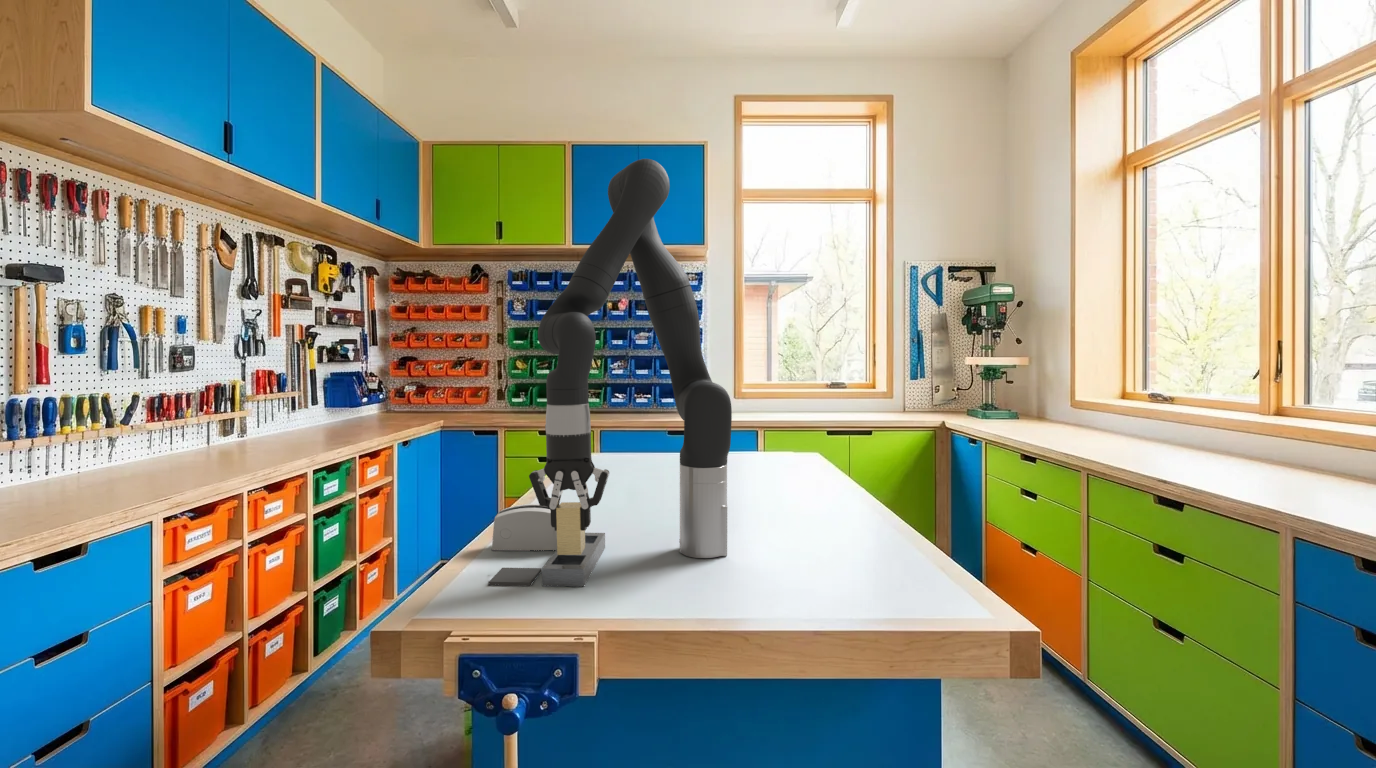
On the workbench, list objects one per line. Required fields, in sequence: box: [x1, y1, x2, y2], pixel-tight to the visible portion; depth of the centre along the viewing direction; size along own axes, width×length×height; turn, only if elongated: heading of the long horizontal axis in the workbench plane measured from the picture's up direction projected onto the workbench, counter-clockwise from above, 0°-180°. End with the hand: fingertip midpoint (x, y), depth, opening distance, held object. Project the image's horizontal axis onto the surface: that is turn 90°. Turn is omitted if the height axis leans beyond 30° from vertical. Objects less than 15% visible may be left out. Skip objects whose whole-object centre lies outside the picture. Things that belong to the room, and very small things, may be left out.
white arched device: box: [491, 503, 557, 552], centre depth 126 cm, size 17×5×10 cm, turn 90°
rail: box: [541, 532, 606, 588], centre depth 116 cm, size 7×21×3 cm, turn 178°
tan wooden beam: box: [556, 501, 586, 555], centre depth 109 cm, size 4×4×8 cm
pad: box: [488, 567, 542, 587], centre depth 109 cm, size 7×7×1 cm
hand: (570, 529), depth 109 cm, fingers closed on tan wooden beam, 4 cm apart
